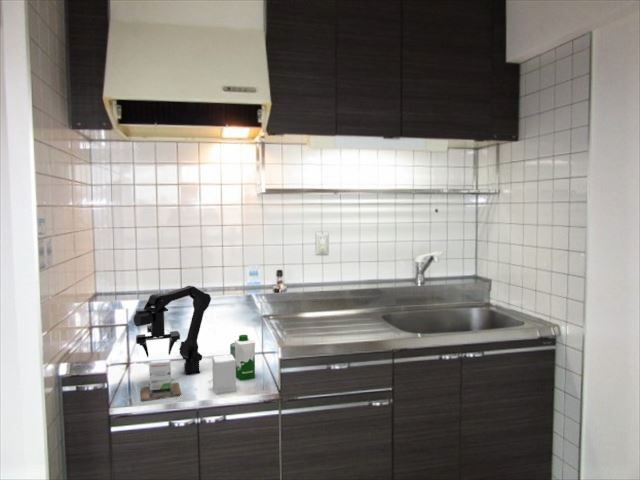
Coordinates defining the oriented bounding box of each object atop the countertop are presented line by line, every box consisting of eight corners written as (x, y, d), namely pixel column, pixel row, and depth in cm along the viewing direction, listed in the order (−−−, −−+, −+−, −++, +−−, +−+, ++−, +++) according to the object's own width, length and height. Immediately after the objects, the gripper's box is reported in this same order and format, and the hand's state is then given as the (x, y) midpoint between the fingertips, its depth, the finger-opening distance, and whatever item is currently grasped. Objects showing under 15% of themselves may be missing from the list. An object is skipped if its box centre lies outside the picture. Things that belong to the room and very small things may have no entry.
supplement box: (236, 393, 203) (236, 359, 202) (215, 396, 200) (215, 362, 199) (232, 386, 212) (232, 353, 211) (212, 389, 209) (212, 356, 208)
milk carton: (251, 374, 228) (250, 333, 226) (257, 380, 220) (257, 338, 218) (233, 377, 224) (232, 335, 222) (239, 383, 216) (238, 340, 214)
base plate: (178, 384, 214) (178, 379, 214) (181, 395, 201) (181, 390, 201) (140, 389, 208) (140, 384, 208) (141, 401, 195) (141, 396, 195)
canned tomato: (244, 368, 236) (244, 346, 236) (228, 368, 236) (228, 346, 236) (247, 362, 244) (246, 342, 244) (232, 362, 244) (231, 342, 244)
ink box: (171, 384, 208) (171, 358, 207) (170, 388, 203) (170, 362, 202) (151, 386, 206) (150, 359, 205) (149, 390, 201) (148, 363, 200)
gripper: (177, 316, 225) (177, 348, 226) (135, 320, 217) (136, 353, 218) (179, 321, 214) (180, 355, 215) (135, 325, 207) (136, 360, 208)
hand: (158, 355), depth 215 cm, fingers open, 9 cm apart
